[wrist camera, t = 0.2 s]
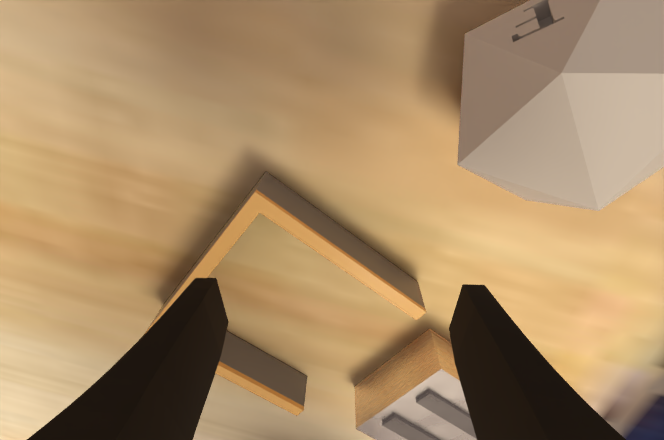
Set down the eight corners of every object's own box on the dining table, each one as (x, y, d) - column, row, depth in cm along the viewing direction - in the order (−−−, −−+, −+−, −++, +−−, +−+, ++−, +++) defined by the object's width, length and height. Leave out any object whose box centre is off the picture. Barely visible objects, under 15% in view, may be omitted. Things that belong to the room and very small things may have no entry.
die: (646, -10, 16) (713, -185, 8) (703, 175, 16) (829, 174, 8) (464, 73, 21) (395, 10, 13) (504, 219, 21) (459, 246, 13)
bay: (301, 381, 28) (296, 415, 26) (163, 305, 25) (143, 335, 23) (417, 282, 24) (426, 312, 21) (265, 171, 20) (255, 191, 18)
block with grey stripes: (426, 424, 31) (437, 476, 27) (354, 383, 29) (356, 433, 25) (503, 376, 28) (525, 427, 24) (429, 325, 26) (442, 372, 22)
